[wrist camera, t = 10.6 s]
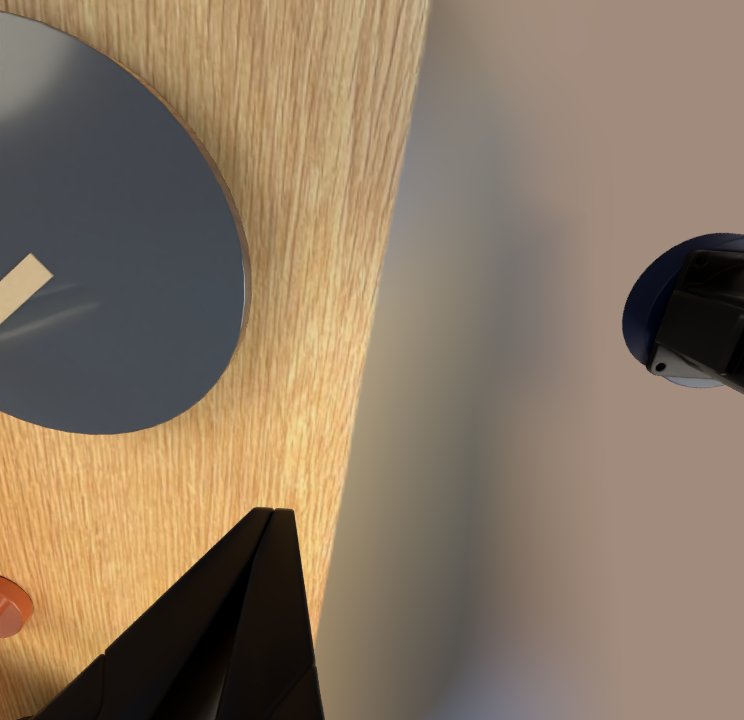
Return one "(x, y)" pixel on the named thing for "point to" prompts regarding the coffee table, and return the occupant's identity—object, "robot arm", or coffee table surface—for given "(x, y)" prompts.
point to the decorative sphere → (26, 718)
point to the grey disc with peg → (108, 243)
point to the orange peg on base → (13, 608)
